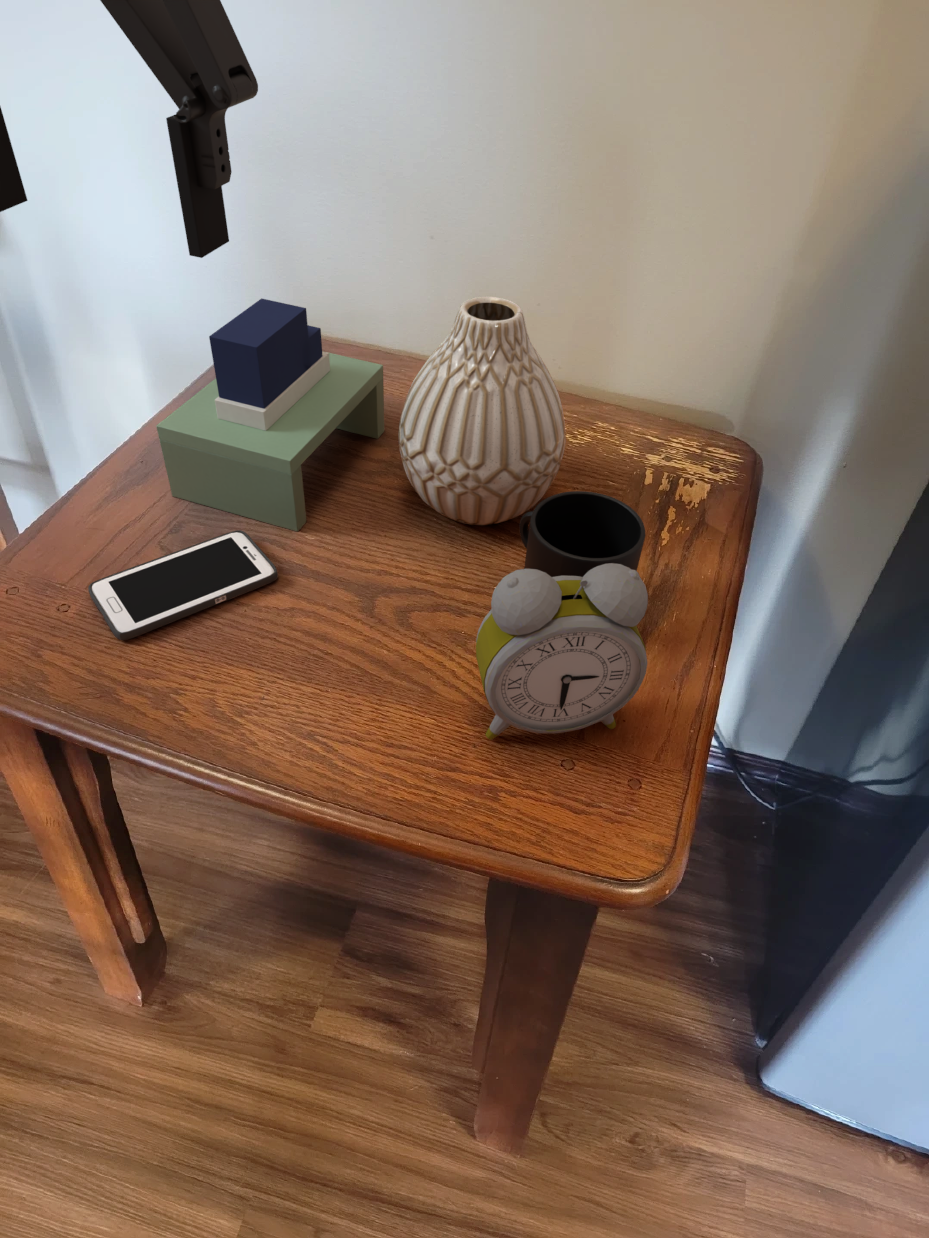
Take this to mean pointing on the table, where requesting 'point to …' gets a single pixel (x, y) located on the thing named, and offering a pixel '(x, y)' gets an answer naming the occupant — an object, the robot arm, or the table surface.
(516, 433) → the vase
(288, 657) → the table surface
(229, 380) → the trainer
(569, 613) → the alarm clock
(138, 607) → the cell phone
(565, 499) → the mug
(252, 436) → the sage green footstool
